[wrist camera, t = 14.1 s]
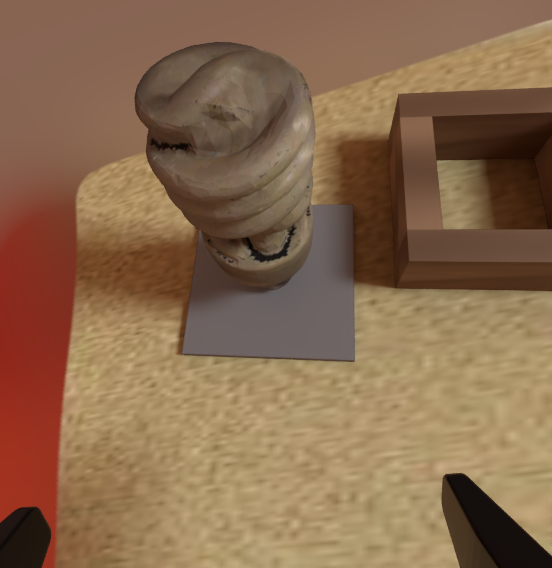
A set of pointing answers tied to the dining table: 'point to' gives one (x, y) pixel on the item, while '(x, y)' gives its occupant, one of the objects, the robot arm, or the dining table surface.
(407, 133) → the socket block
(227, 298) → the rubber mat
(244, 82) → the light bulb
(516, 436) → the dining table surface
